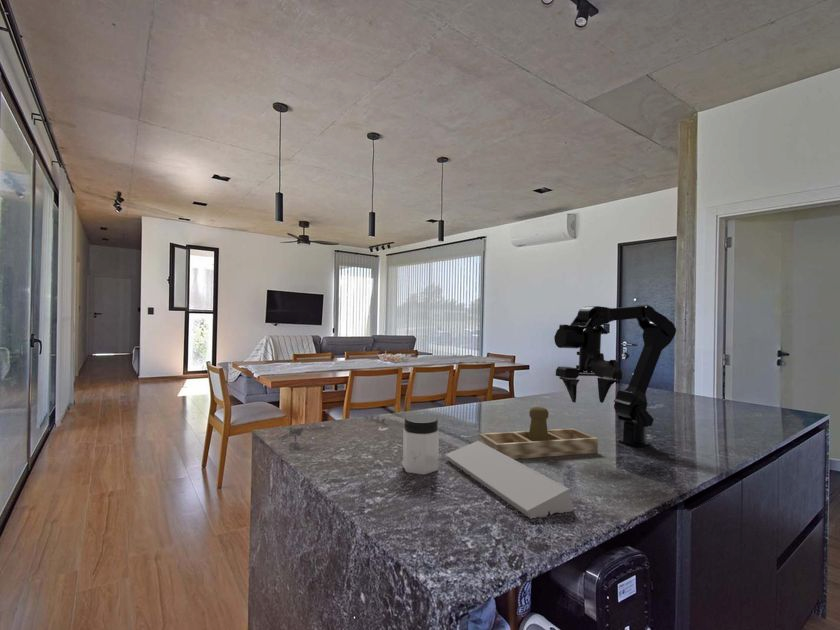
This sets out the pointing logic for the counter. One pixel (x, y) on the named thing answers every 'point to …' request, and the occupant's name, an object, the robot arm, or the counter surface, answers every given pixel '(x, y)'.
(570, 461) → the counter surface
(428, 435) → the jar
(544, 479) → the decorative molding
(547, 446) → the spice rack
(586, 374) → the robot arm
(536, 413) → the olive pepper mill
